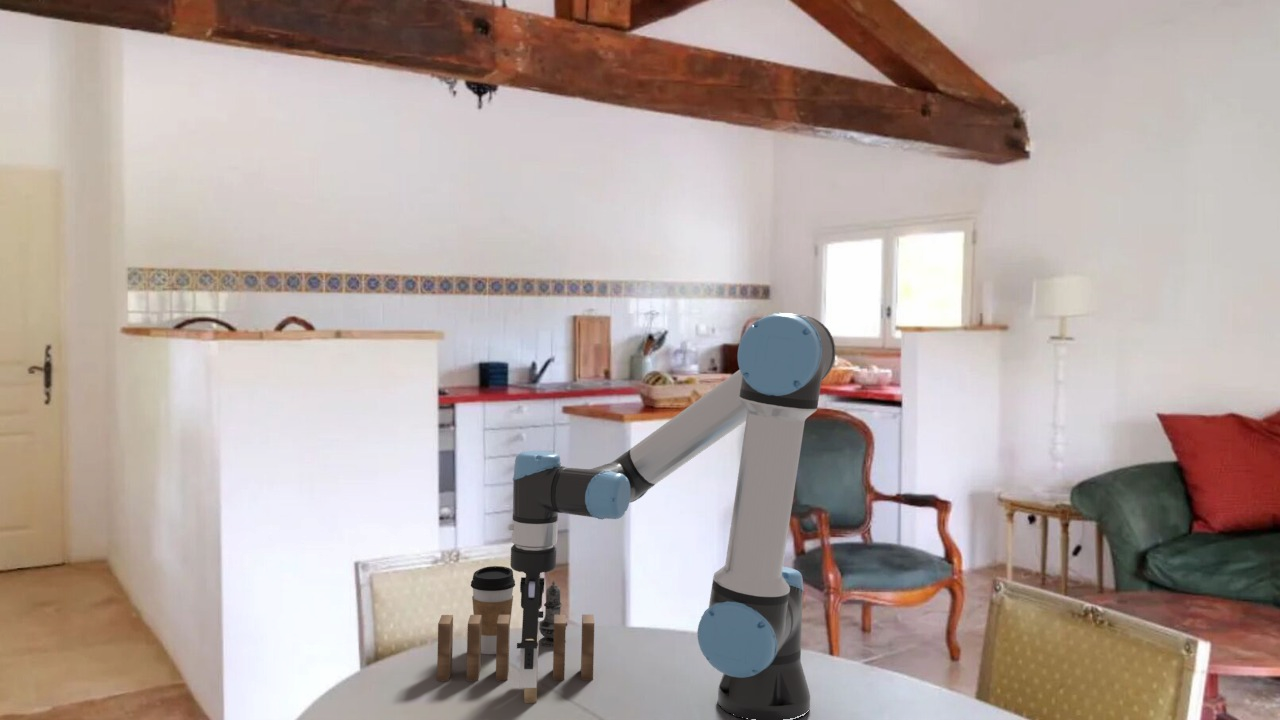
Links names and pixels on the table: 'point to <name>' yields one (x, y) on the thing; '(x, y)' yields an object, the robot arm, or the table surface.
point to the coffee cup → (492, 601)
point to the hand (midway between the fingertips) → (529, 671)
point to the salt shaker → (550, 615)
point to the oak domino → (531, 689)
